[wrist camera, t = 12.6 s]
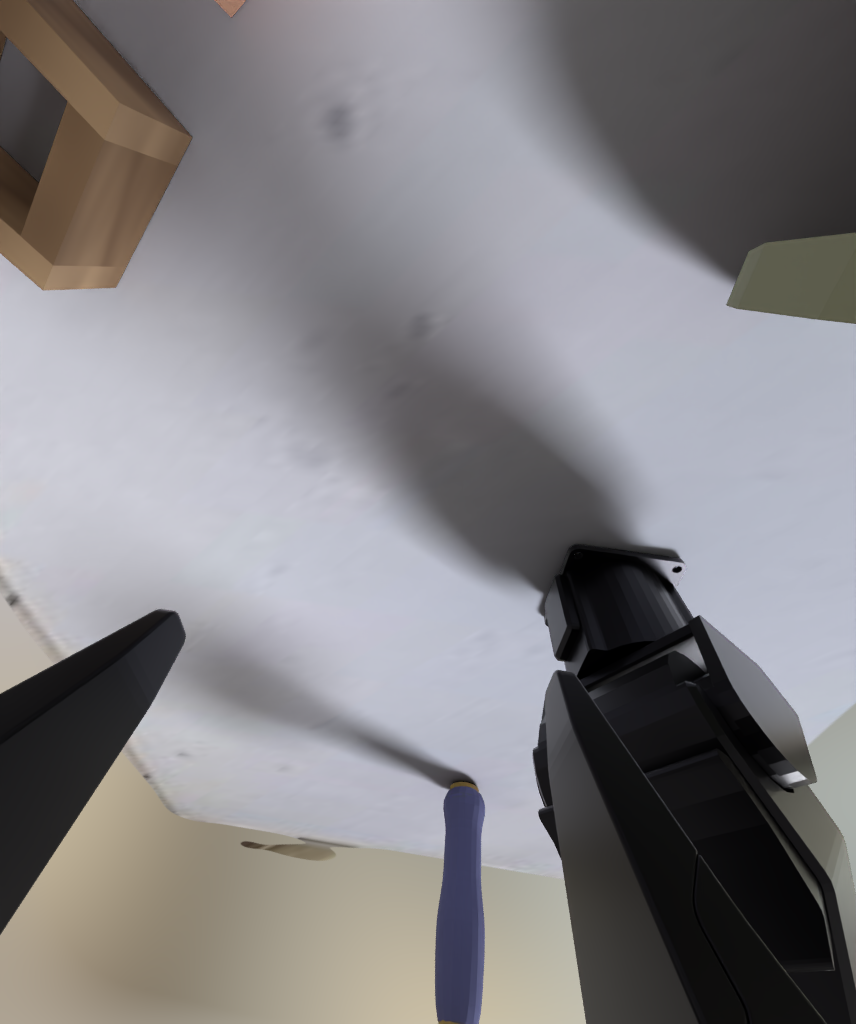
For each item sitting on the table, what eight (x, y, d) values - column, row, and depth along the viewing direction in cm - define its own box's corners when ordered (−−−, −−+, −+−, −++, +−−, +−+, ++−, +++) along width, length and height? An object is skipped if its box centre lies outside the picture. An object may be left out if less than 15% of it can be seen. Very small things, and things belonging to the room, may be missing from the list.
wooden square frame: (192, 137, 15) (119, 102, 12) (115, 287, 18) (42, 290, 15) (-9, -93, 12) (-166, -211, 9) (-57, 127, 15) (-185, 92, 12)
